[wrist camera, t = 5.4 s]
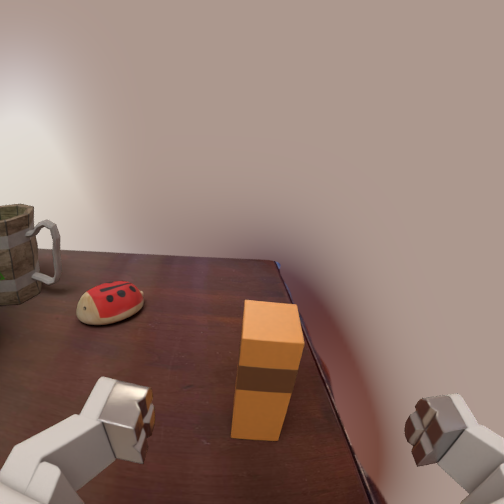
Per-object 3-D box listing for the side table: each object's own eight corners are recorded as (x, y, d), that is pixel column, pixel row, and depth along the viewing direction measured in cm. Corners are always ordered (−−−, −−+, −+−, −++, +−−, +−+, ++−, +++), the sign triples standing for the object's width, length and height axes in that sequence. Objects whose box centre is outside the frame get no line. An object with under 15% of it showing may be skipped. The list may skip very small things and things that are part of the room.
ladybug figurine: (70, 311, 37) (65, 288, 36) (129, 291, 44) (128, 269, 43) (90, 336, 33) (85, 311, 32) (155, 311, 41) (154, 287, 39)
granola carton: (278, 441, 24) (305, 343, 20) (230, 438, 24) (241, 338, 20) (276, 400, 28) (297, 304, 24) (233, 397, 28) (244, 299, 24)
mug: (-27, 300, 33) (-44, 223, 29) (7, 270, 43) (-3, 203, 39) (51, 316, 35) (37, 227, 31) (80, 279, 45) (73, 205, 41)
